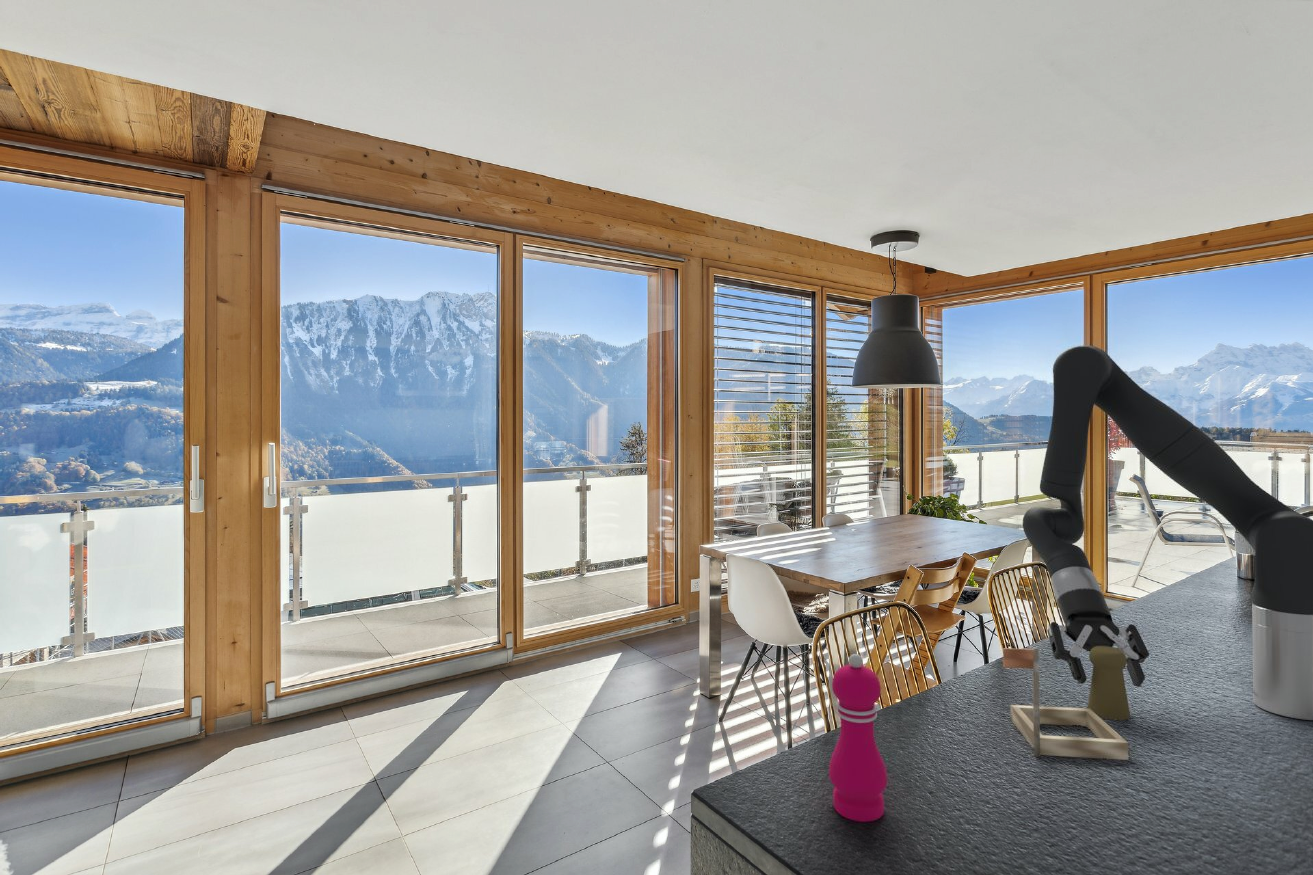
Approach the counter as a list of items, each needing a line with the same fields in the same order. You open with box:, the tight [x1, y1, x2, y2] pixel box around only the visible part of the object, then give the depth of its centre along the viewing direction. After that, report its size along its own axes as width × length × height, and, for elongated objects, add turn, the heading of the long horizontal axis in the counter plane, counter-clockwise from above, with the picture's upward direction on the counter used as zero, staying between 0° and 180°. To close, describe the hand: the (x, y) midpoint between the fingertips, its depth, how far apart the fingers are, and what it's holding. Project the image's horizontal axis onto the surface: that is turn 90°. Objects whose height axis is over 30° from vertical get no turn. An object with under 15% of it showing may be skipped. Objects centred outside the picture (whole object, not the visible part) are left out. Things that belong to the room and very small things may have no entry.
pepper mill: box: [828, 653, 888, 823], centre depth 86 cm, size 7×7×20 cm
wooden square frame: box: [1002, 646, 1129, 761], centre depth 104 cm, size 17×13×16 cm
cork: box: [1087, 646, 1131, 721], centre depth 113 cm, size 6×6×11 cm
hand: (1110, 683), depth 112 cm, fingers open, 8 cm apart
